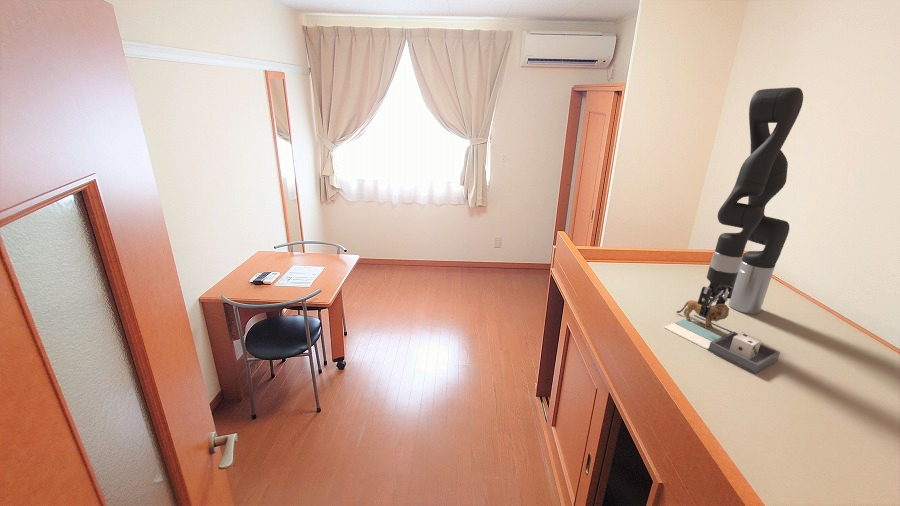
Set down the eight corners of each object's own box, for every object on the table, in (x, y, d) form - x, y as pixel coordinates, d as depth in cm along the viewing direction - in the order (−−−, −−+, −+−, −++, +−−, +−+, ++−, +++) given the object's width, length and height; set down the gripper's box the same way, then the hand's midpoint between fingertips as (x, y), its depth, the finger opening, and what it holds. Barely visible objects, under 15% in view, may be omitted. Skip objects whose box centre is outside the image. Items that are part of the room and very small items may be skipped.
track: (694, 315, 137) (694, 314, 137) (737, 334, 126) (737, 333, 126) (664, 327, 129) (664, 327, 129) (706, 349, 118) (706, 348, 118)
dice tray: (730, 339, 123) (733, 331, 122) (777, 360, 113) (780, 352, 112) (708, 350, 117) (710, 342, 116) (754, 374, 107) (757, 365, 106)
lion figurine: (726, 329, 129) (733, 304, 126) (720, 334, 126) (727, 309, 123) (679, 311, 140) (684, 288, 136) (672, 316, 136) (677, 292, 133)
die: (737, 346, 118) (742, 331, 117) (757, 355, 114) (762, 340, 112) (728, 351, 116) (733, 336, 114) (748, 360, 112) (753, 345, 110)
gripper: (724, 259, 129) (711, 304, 134) (698, 266, 122) (685, 313, 128) (750, 267, 123) (735, 314, 128) (723, 275, 116) (709, 324, 122)
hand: (710, 313), depth 128 cm, fingers open, 8 cm apart
